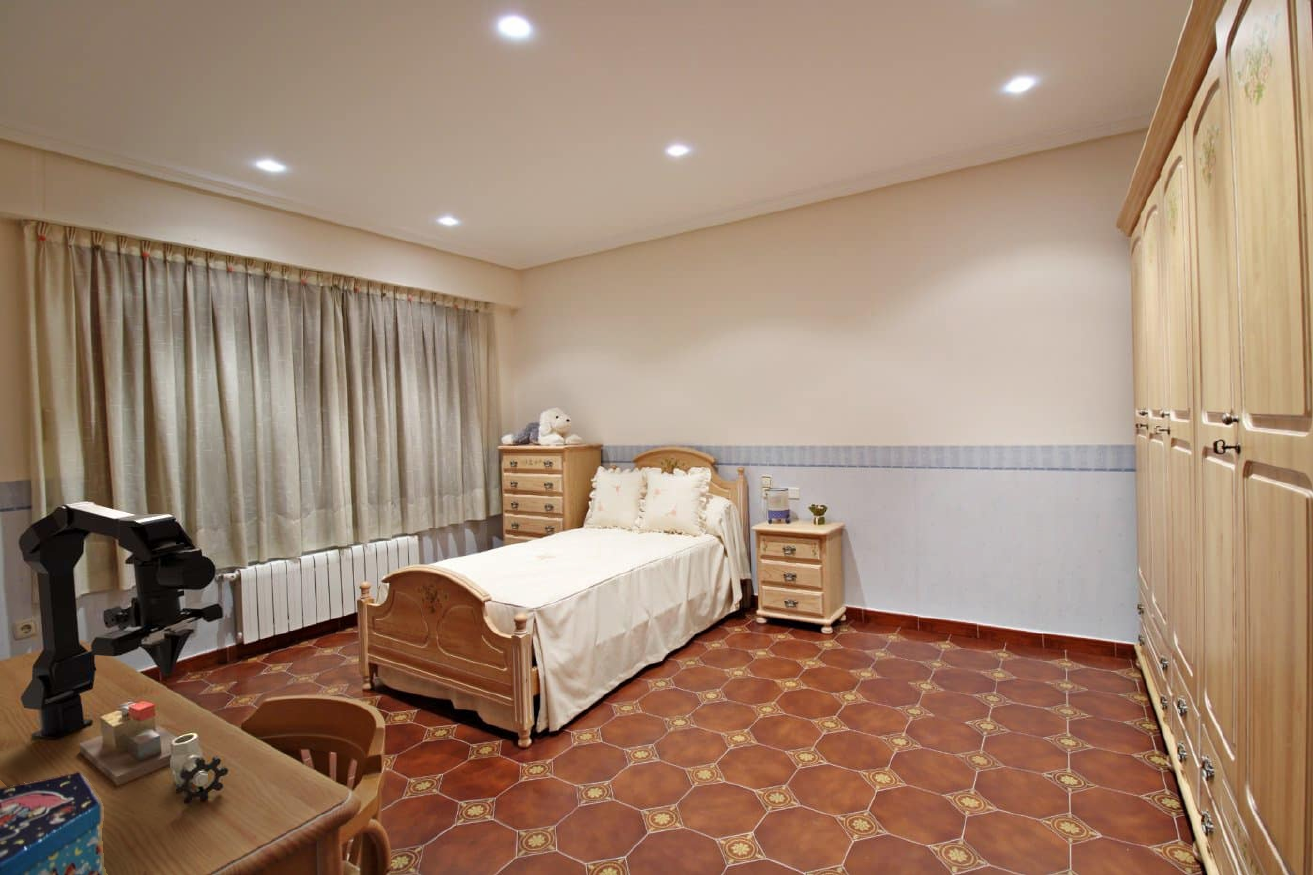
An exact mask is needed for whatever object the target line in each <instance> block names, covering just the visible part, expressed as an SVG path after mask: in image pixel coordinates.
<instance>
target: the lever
mask: <svg viewBox="0 0 1313 875" xmlns="http://www.w3.org/2000/svg"><path fill="white" fill-rule="evenodd" d="M118 710H119V711H124V712H127V713H129V717H130V718H131V719H134V720H137V721H140V722H141V721H143V720H146V719H148V718H151V717H153V716H154V717H155V716H156V710H155V704H154V703H153V702H148V701H145V700H142V701H140V702H137V703H135V702H133V701H127V702H124V703H121V704H119V705H118Z"/></svg>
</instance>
